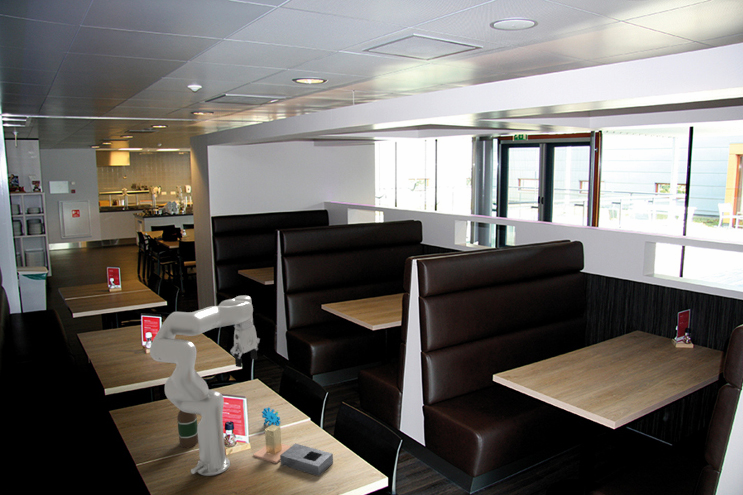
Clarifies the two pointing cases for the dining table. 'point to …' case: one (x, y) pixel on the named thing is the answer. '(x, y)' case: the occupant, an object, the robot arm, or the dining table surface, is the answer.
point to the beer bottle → (187, 429)
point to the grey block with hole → (306, 459)
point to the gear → (270, 417)
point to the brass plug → (273, 439)
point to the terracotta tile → (271, 457)
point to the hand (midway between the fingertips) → (246, 362)
